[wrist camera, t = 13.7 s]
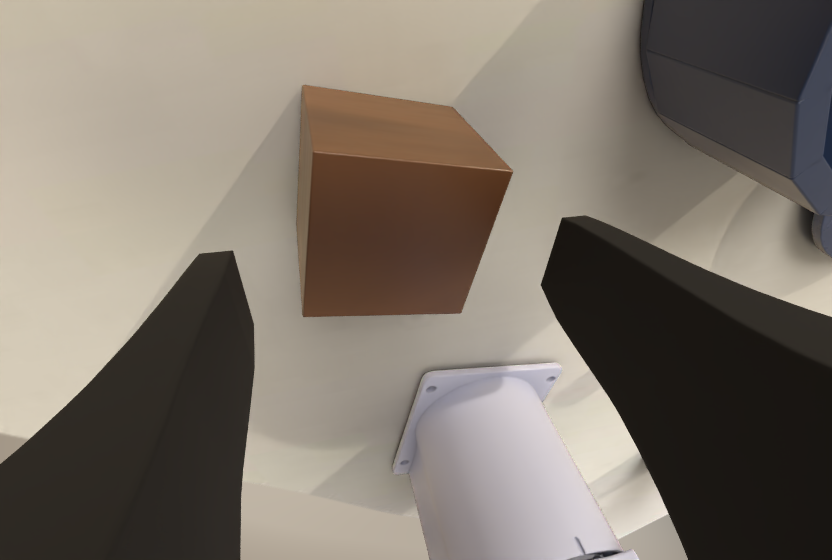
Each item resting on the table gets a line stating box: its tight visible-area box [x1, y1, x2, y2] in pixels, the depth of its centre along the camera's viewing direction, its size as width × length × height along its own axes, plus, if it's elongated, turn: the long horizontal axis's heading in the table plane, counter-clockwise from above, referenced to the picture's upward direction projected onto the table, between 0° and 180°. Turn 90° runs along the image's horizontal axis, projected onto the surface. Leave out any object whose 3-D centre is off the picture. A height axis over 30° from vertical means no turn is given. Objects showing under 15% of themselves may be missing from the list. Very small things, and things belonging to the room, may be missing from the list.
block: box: [296, 85, 513, 317], centre depth 12 cm, size 4×4×4 cm
